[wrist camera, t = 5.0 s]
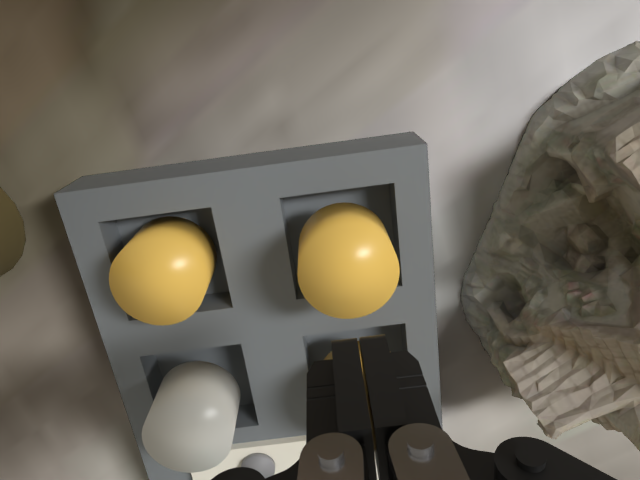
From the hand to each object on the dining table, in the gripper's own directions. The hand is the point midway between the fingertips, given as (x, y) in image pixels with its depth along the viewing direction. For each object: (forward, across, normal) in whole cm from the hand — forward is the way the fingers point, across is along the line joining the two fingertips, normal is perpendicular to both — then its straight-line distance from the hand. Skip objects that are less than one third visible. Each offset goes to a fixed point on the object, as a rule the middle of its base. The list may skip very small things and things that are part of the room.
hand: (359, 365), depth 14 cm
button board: (+12, +4, +6) cm, 14 cm away
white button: (+9, +8, +7) cm, 14 cm away
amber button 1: (+11, +8, 0) cm, 13 cm away
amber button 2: (+9, 0, 0) cm, 9 cm away
